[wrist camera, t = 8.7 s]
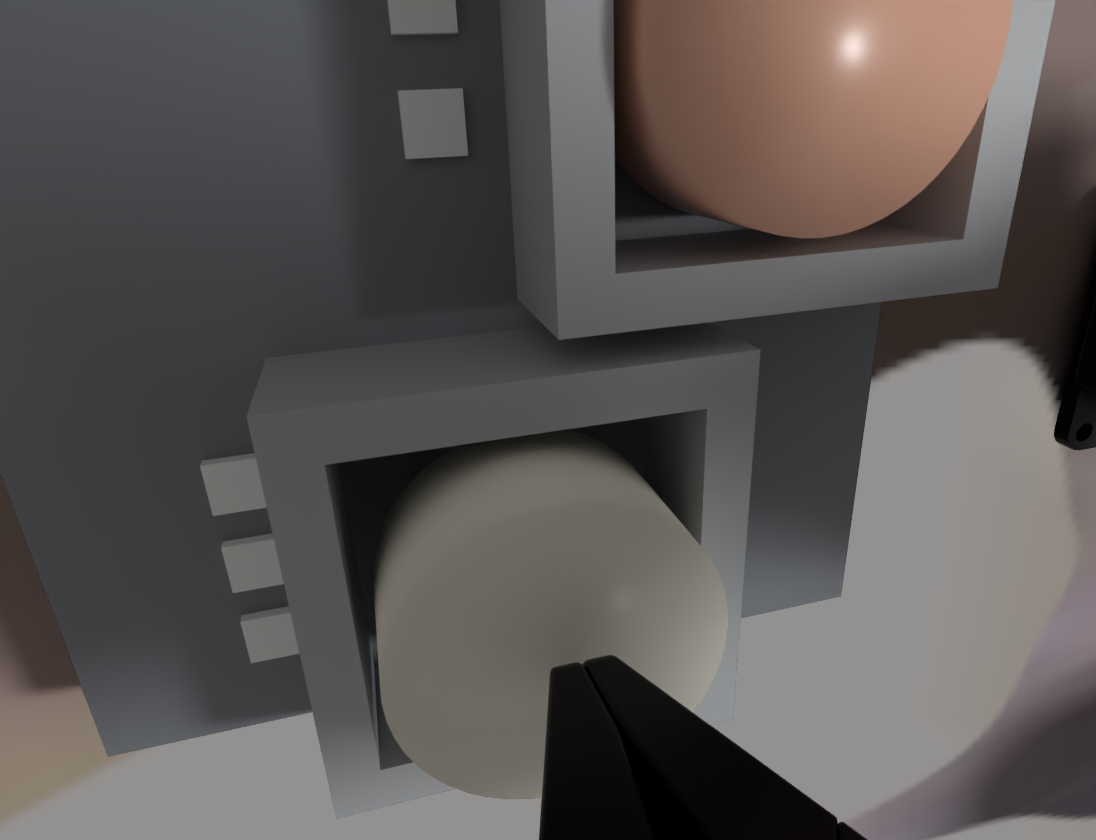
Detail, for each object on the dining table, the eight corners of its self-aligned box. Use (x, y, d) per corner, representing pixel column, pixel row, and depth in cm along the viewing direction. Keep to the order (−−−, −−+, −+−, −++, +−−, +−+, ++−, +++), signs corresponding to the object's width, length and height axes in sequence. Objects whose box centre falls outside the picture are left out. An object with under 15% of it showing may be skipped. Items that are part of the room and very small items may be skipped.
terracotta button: (899, -141, 10) (1052, -214, 8) (858, 206, 12) (973, 223, 10) (580, -153, 9) (656, -241, 7) (589, 228, 11) (650, 253, 9)
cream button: (661, 406, 11) (737, 474, 9) (656, 647, 13) (719, 752, 11) (351, 451, 10) (353, 539, 8) (393, 706, 12) (404, 835, 10)
